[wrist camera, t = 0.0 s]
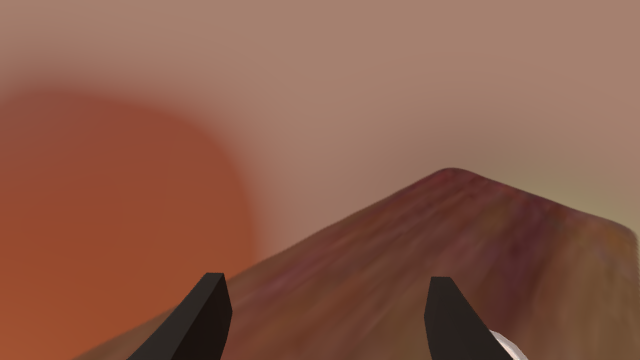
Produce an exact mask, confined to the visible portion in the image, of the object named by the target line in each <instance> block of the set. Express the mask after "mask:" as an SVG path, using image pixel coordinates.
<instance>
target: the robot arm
mask: <svg viewBox="0 0 640 360" xmlns="http://www.w3.org/2000/svg"><path fill="white" fill-rule="evenodd" d="M231 317H232V307H231V303H230V299H229V294H228V290H227V286H226V281H225V277H224V273H206V274H205V275H204V276H203V277H202V278H201V279H200V281H199V282H198V283H197V284H196V286H195V287H194V288H193V289H192V290H191V291H190V293H189V294H188V295H187V296H186V297H185V298H184V300H183V301H182V302H181V303H180V304H179V305H178V307H177V308H176V309H175V310H174V311H173V312H172V313H171V314H170V315H169V317H168V318H167V319H166V320H165V321H164V322H163V323H162V324H161V325H160V327H159V328H158V329H157V330H156V331H155V332H154V333H153V334H152V335H151V336H150V337H149V338H148V339H147V340H146V341H145V342H144V343H143V344H142V345H141V346H140V347H139V348H138V349H137V350H136V351H135V352H134V353H133V354H132V355H131V356H130V357H129V358H128V359H126V360H220V358H221V355H222V352H223V350H224V346H225V343H226V340H227V336H228V331H229V327H230V322H231ZM424 320H425V327H426V333H427V339H428V345H429V349H430V353H431V357H432V360H514V359H513V358H512V357H511V355H510V354H509V353H508V352H507V351H506V350H505V349H504V347H503V346H502V345H501V344H500V343H499V341H498V340H497V339H496V338H495V337H494V335H493V334H492V333H491V332H490V330H489V329H488V328H487V327H486V325H485V324H484V323H483V322H482V320H481V319H480V318H479V316H478V315H477V314H476V312H475V311H474V310H473V308H472V307H471V306H470V304H469V303H468V302H467V300H466V299H465V297H464V296H463V295H462V293H461V292H460V290H459V289H458V287H457V286H456V284H455V283H454V281H453V280H452V279H451V278H450V277H431V281H430V286H429V292H428V297H427V303H426V308H425V314H424Z"/></svg>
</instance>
